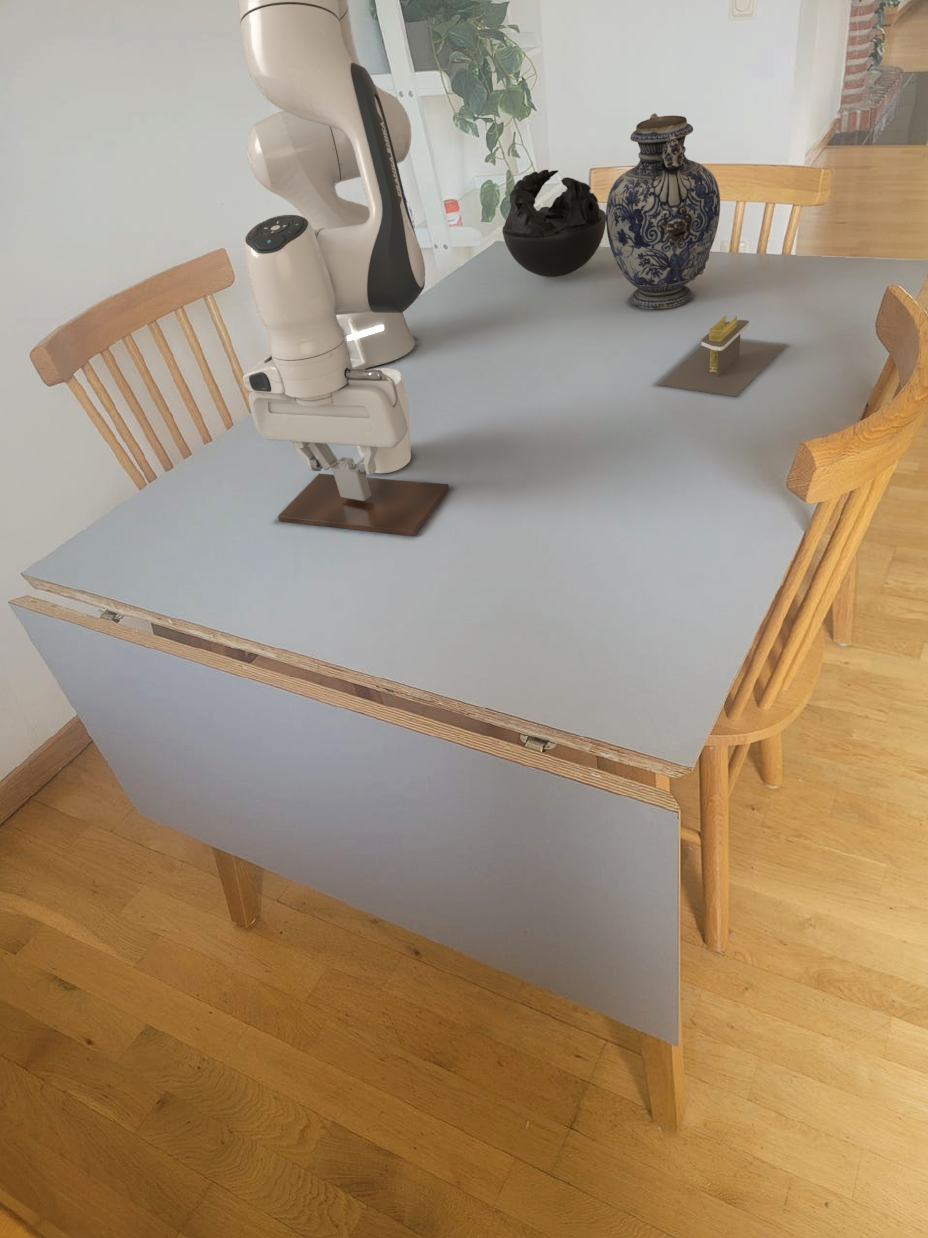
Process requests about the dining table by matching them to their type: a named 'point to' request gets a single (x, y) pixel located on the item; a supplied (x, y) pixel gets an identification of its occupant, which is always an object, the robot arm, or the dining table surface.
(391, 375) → the cup
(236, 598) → the dining table surface
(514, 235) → the coal bowl
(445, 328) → the dining table surface
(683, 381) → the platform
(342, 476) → the lighter
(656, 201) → the decorative vase
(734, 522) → the dining table surface
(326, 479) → the walnut board
